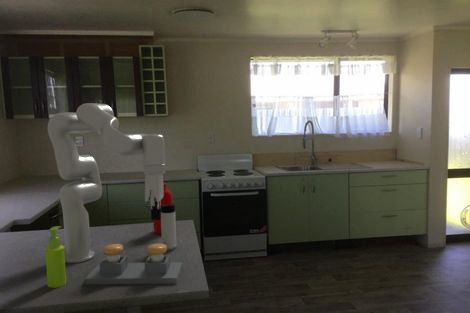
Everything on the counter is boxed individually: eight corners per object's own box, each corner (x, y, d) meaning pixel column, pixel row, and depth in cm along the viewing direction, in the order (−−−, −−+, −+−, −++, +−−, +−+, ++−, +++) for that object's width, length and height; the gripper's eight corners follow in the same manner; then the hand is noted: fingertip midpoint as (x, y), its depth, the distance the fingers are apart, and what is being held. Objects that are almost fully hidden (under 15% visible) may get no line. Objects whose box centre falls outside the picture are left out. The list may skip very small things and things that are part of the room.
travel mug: (162, 251, 158) (161, 206, 156) (161, 246, 164) (160, 203, 162) (177, 250, 160) (175, 205, 158) (175, 245, 166) (174, 202, 164)
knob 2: (146, 265, 130) (145, 250, 130) (150, 258, 137) (149, 243, 136) (165, 265, 130) (164, 249, 130) (168, 258, 137) (168, 243, 136)
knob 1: (101, 266, 130) (100, 250, 130) (107, 258, 137) (107, 244, 137) (120, 266, 130) (119, 250, 130) (125, 258, 137) (125, 243, 137)
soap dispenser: (70, 278, 132) (67, 224, 130) (61, 287, 125) (58, 230, 123) (53, 279, 132) (50, 225, 130) (44, 288, 125) (40, 231, 123)
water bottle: (149, 230, 188) (147, 182, 185) (170, 228, 192) (168, 181, 190) (153, 236, 179) (151, 185, 177) (175, 232, 184) (173, 183, 182)
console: (84, 284, 127) (84, 267, 127) (99, 268, 141) (99, 253, 141) (176, 283, 127) (176, 266, 127) (182, 267, 141) (182, 252, 140)
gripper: (148, 166, 138) (150, 214, 139) (138, 172, 123) (140, 225, 125) (168, 166, 138) (170, 214, 139) (160, 172, 123) (162, 225, 125)
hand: (156, 219), depth 132 cm, fingers closed
